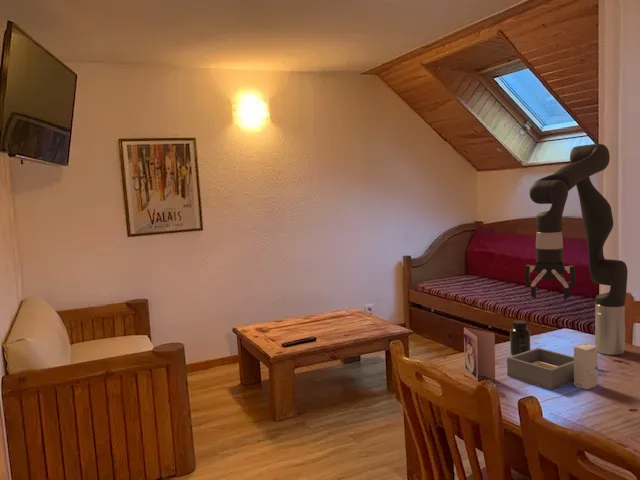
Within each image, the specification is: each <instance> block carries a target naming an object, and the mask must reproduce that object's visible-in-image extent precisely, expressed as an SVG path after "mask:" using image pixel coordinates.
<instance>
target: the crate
mask: <svg viewBox="0 0 640 480" xmlns="http://www.w3.org/2000/svg"><path fill="white" fill-rule="evenodd" d="M506 368H507V369H506V371H507V374H506V375H507V377H511V378H514V379H517V380H520V381H522V382H525V381H526V383H529V384H532V385H536V386H538V385H539V387H542V388H544V389H547V390H550V391H553V390H555V389H558V388H561V387H564V386H565V385H568V384H572V383H574V356H570V355H567V354H563V353H560V352H557V351H556V352H555V351H552V350H548V349H545V348H540V347H536V348H533V349H530V350H529V351H526V352H523V353H520V354H517V355H510V356H508V357H506Z"/></svg>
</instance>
